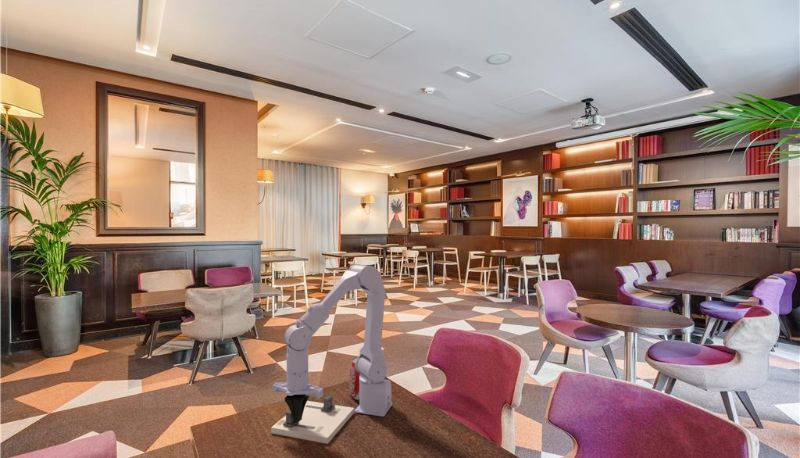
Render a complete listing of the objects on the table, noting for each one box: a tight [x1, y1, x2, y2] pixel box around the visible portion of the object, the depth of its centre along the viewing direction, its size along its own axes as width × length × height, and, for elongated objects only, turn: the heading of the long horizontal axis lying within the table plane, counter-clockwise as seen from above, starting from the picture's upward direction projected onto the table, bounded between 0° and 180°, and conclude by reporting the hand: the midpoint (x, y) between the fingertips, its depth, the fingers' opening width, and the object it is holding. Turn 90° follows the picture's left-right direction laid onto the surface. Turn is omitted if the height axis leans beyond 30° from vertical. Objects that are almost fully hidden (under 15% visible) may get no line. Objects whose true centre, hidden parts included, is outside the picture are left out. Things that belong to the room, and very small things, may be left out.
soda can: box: [349, 356, 360, 401], centre depth 115 cm, size 7×7×12 cm
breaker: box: [321, 394, 335, 412], centre depth 103 cm, size 3×3×3 cm
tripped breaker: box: [283, 409, 297, 427], centre depth 95 cm, size 3×3×3 cm
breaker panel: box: [270, 400, 355, 445], centre depth 99 cm, size 17×16×2 cm
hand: (297, 420), depth 95 cm, fingers closed
